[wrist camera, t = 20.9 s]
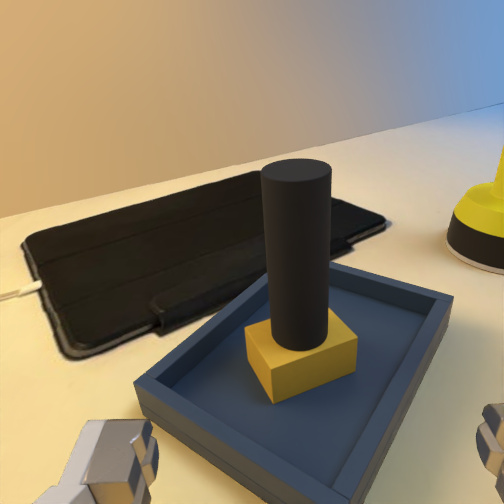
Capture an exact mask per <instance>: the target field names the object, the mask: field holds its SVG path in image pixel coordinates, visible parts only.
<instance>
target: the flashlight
mask: <svg viewBox="0 0 504 504" xmlns="http://www.w3.org/2000/svg"><path fill="white" fill-rule="evenodd" d="M445 244H446V246H447V248H448V249H449V251H450V252H451V253H452V254H453V255H455V256H456V257H457V258H459V259H460V260H462V261H464V262H466V263H468V264H470V265H472V266H475V267H477V268H480V269H483V270H486V271H490V272H494V273H499V274H504V146H503V150H502V154H501V158H500V162H499V165H498V169H497V173H496V177H495V181H494V182H490V183H483V184H479V185H476V186H473V187H471V188H470V189H469V190H468V191H467V192H466V194H465V195H464V196H463V197H462V199H461V200H460V201H459V203H458V204H457V205H456V207H455V208H454V211H453V215H452V218H451V222H450V225H449V229H448V232H447V236H446V239H445Z"/></svg>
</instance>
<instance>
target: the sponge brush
mask: <svg viewBox="0 0 504 504" xmlns="http://www.w3.org/2000/svg"><path fill="white" fill-rule="evenodd" d="M331 178H332V169H331V166H330V165H329V164H327V163H325V162H323V161H319V160H314V159H287V160H281V161H276V162H273V163H270V164H268V165H266V166H265V167H263V168H262V170H261V185H262V200H263V215H264V230H265V245H266V260H267V275H268V291H269V306H270V319H268V320H265V321H262V322H259V323H256V324H253V325H250V326H247V327H245V328H244V329H245V338H246V347H247V356H248V361H249V363H250V365H251V366H252V368H253V370H254V372H255V373H256V375H257V377H258V379H259V380H260V382H261V384H262V386H263V387H264V389H265V391H266V393H267V394H268V396H269V398H270V399H271V401H272V403H273V404H275V403H278V402H280V401H283V400H285V399H288V398H290V397H293V396H295V395H298V394H300V393H303V392H305V391H308V390H310V389H313V388H315V387H318V386H320V385H323V384H325V383H328V382H330V381H333V380H335V379H338V378H340V377H343V376H345V375H348V374H350V373H353V372H355V371H356V357H357V343H358V337H357V336H356V335H355V334H354V333H353V332H352V331H351V330H350V329H349V328H348V327H347V326H346V325H345V324H344V323H343V321H342V320H341V319H340V318H339V317H338V316H337V315H336V314H335V313H334V312H333V311H332V310H331V309H330V308H329V265H330V221H331Z"/></svg>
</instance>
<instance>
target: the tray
mask: <svg viewBox="0 0 504 504" xmlns="http://www.w3.org/2000/svg"><path fill="white" fill-rule="evenodd" d="M453 299H454V296H451V295H448V294H444V293H441V292H437V291H433V290H430V289H426V288H423V287H419V286H416V285H412V284H409V283H405V282H402V281H398V280H394V279H391V278H387V277H384V276H380V275H377V274H373V273H370V272H366V271H363V270H359V269H356V268H352V267H348V266H345V265H341V264H338V263H334V262H331V261H330V265H329V308H330V309H331V310H332V311H333V312H334V313H335V314H336V315H337V316H338V317H339V318H340V319H341V320H342V321H343V323H344V324H345V325H346V326H347V327H348V328H349V329H350V330H351V331H352V332H353V333H354V334H355V335H356V336H357V337H358V343H357V357H356V371H355V372H353V373H350V374H348V375H345V376H343V377H340V378H338V379H335V380H333V381H330V382H328V383H325V384H323V385H320V386H318V387H315V388H313V389H310V390H308V391H305V392H303V393H300V394H298V395H295V396H293V397H290V398H288V399H285V400H283V401H280V402H278V403H275V404H273V403H272V401H271V399H270V398H269V396H268V394H267V393H266V391H265V389H264V387H263V386H262V384H261V382H260V380H259V379H258V377H257V375H256V373H255V372H254V370H253V368H252V366H251V365H250V363H249V361H248V356H247V347H246V338H245V329H244V328H245V327H247V326H250V325H253V324H256V323H259V322H262V321H265V320H268V319H270V306H269V291H268V275H267V273H266V274H264V275H263V276H262V277H261V278H260V279H258V280H257V281H256V282H255V283H254V284H252V285H251V286H250V287H249V288H247V289H246V290H245V291H244V292H243V293H241V294H240V295H239V296H238V297H237V298H235V299H234V300H233V301H232V302H230V303H229V304H228V305H227V306H226V307H224V308H223V309H222V310H221V311H219V312H218V313H217V314H216V315H215V316H213V317H212V318H211V319H210V320H209V321H207V322H206V323H205V324H204V325H202V326H201V327H200V328H199V329H198V330H196V331H195V332H194V333H193V334H192V335H190V336H189V337H188V338H187V339H185V340H184V341H183V342H182V343H181V344H179V345H178V346H177V347H176V348H175V349H173V350H172V351H171V352H170V353H168V354H167V355H166V356H165V357H164V358H162V359H161V360H160V361H159V362H158V363H156V364H155V365H154V366H153V367H151V368H150V369H149V370H148V371H147V372H146V374H145V373H144V374H143V375H142V376H140V377H139V378H138V379H137V380H135V381H134V382H133V384H134V387H135V390H136V394H137V397H138V400H139V404H140V407H141V410H142V413H143V415H144V416H146V417H147V418H148V419H150V420H151V421H153V422H154V423H155V424H157V425H158V426H160V427H161V428H162V429H164V430H165V431H167V432H168V433H169V434H171V435H172V436H174V437H175V438H177V439H178V440H179V441H181V442H182V443H184V444H185V445H186V446H188V447H189V448H191V449H192V450H193V451H195V452H196V453H198V454H199V455H200V456H202V457H203V458H205V459H206V460H208V461H209V462H210V463H212V464H213V465H215V466H216V467H217V468H219V469H220V470H222V471H223V472H224V473H226V474H227V475H229V476H230V477H231V478H233V479H234V480H236V481H237V482H238V483H240V484H241V485H243V486H244V487H246V488H247V489H248V490H250V491H251V492H253V493H254V494H255V495H257V496H258V497H260V498H261V499H262V500H264V501H265V502H267V503H268V504H363V502H364V500H365V498H366V496H367V494H368V492H369V490H370V487H371V485H372V483H373V481H374V479H375V477H376V475H377V473H378V471H379V469H380V467H381V465H382V463H383V460H384V458H385V456H386V454H387V452H388V450H389V448H390V446H391V444H392V442H393V440H394V438H395V435H396V433H397V431H398V429H399V427H400V425H401V423H402V421H403V419H404V417H405V415H406V413H407V410H408V408H409V406H410V404H411V402H412V400H413V398H414V396H415V394H416V392H417V390H418V388H419V386H420V383H421V381H422V379H423V377H424V375H425V373H426V371H427V369H428V367H429V365H430V363H431V361H432V358H433V356H434V354H435V352H436V350H437V348H438V346H439V344H440V342H441V340H442V338H443V336H444V333H445V331H446V329H447V327H448V322H449V318H450V313H451V308H452V303H453Z"/></svg>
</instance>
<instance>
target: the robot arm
mask: <svg viewBox="0 0 504 504" xmlns="http://www.w3.org/2000/svg"><path fill="white" fill-rule="evenodd" d="M482 415H483V417H484V419H485V422H484V423H482V424H481V425H480V426H479V427H478V429H477V433H476V443H477V449H478V452H479V455H480V458H481V460H482V462H483V464H484V466H485V468H486V469H487V470H489V471H490V472H491V473H492V474H494V475H495V476H496V477H497V481H496V486H495V488H496V490H497V491H498V493H499V495H500V497H501V499H502V501H503V503H504V403H499V404H488V405H487V406H485V407H484V410H483V413H482ZM152 429H153V427H152V424H151V421H150V419H110V420H109V419H108V420H88V421H87V422H86V423H85V425H84V426H83V427H82V430H81V432H80V434H79V437H78V439H77V441H76V444H75V446H74V448H73V450H72V453H71V455H70V457H69V460H68V462H67V464H66V467H65V469H64V471H63V474H62V476H61V478H60V481H59V483H58V485H57V486H51V487H49V488H48V489H47V490H46V491H45V492H44V493H43V494H42V495H41V496H40V497H39V498H38V499H37V500H36V501H34V502H33V503H32V504H150V502H151V495H150V492H149V489H148V487H149V486H150V485H151V484H152V483H153V482H154V481H155V479H156V475H157V470H158V460H159V451H158V444H157V440H156V439H155V438H154V437H152V436H151V433H152Z"/></svg>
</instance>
